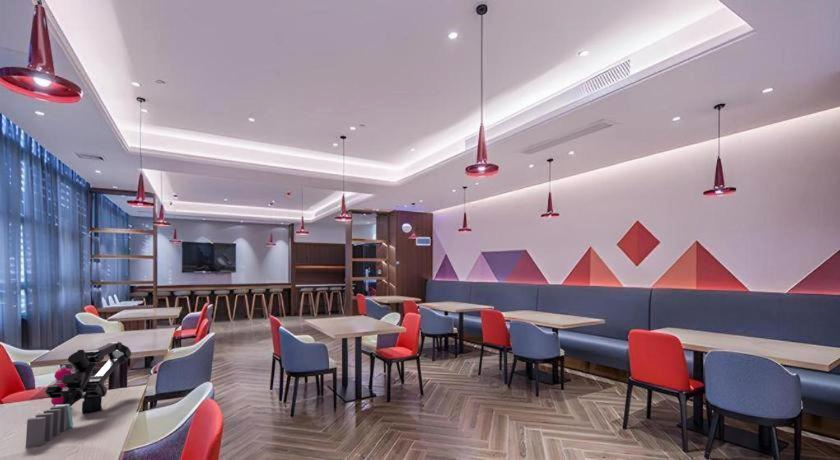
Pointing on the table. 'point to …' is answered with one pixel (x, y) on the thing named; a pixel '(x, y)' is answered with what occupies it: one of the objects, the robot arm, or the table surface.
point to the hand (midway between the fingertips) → (63, 410)
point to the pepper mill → (59, 378)
